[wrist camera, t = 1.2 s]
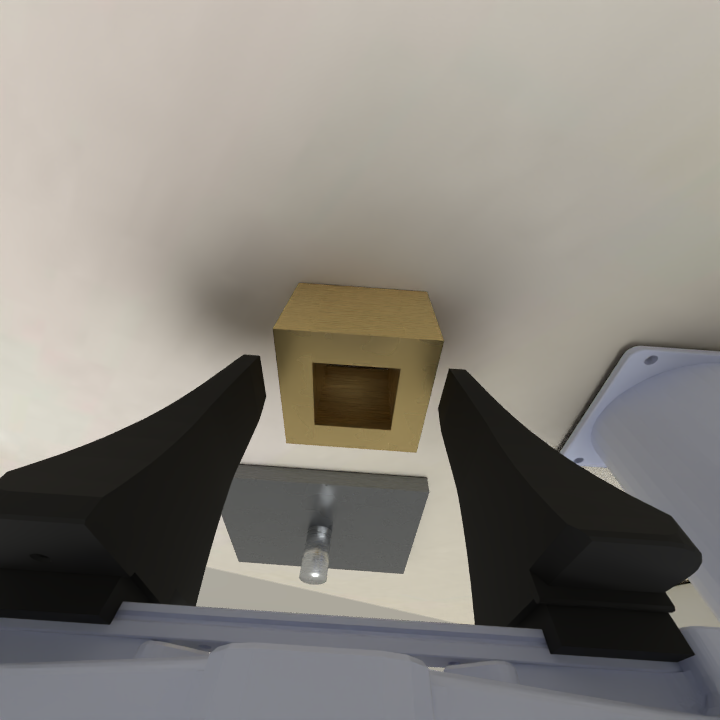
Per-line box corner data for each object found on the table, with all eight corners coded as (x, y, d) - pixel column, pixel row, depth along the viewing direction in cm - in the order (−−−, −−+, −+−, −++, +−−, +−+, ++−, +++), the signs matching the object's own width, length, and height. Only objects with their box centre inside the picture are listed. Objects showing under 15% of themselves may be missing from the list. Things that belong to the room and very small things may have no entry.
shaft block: (427, 478, 20) (437, 542, 17) (402, 560, 27) (406, 618, 24) (213, 462, 20) (182, 523, 17) (243, 549, 27) (224, 604, 24)
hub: (426, 291, 13) (444, 340, 10) (408, 389, 16) (416, 452, 13) (299, 282, 13) (272, 328, 10) (304, 382, 16) (286, 442, 13)
